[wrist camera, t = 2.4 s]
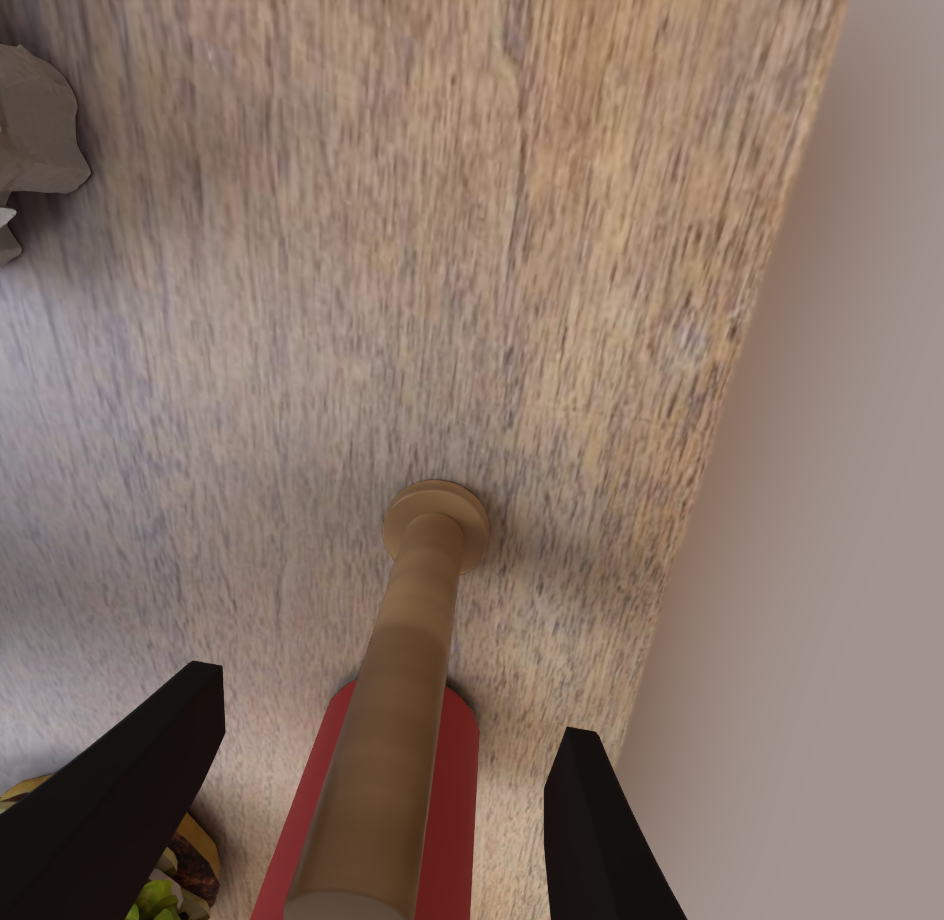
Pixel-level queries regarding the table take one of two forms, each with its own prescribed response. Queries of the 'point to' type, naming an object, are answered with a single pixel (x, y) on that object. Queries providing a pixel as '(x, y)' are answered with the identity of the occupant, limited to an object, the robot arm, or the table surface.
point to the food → (165, 870)
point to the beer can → (447, 824)
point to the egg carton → (34, 135)
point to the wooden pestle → (392, 720)
